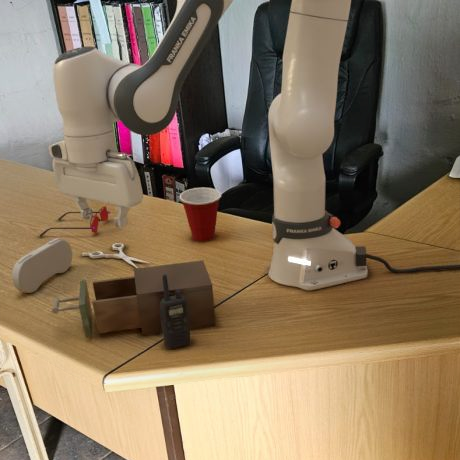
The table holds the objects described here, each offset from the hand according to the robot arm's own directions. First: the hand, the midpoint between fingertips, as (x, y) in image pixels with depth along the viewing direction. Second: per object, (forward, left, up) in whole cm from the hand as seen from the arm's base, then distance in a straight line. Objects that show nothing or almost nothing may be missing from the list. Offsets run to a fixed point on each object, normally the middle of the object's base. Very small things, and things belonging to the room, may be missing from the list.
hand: (104, 222), depth 121 cm
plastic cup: (-23, -41, -21) cm, 52 cm away
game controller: (+17, -25, -21) cm, 37 cm away
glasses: (+11, -60, -21) cm, 65 cm away
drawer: (+3, +2, -20) cm, 21 cm away
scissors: (-1, -33, -21) cm, 40 cm away
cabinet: (-11, +2, -21) cm, 24 cm away
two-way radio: (-10, +13, -21) cm, 27 cm away
